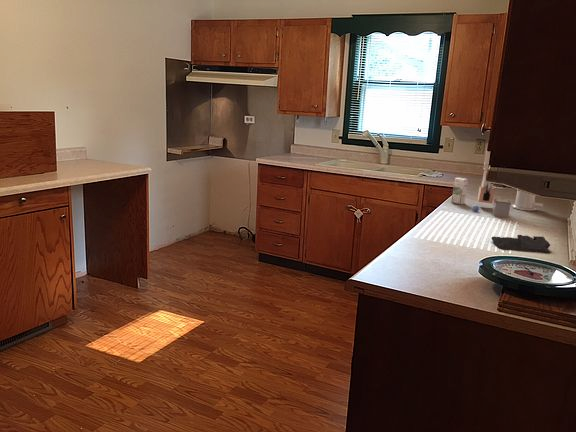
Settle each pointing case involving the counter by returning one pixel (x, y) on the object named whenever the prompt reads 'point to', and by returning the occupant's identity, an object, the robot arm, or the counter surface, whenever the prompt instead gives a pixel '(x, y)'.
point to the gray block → (501, 208)
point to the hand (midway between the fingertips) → (485, 198)
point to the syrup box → (459, 190)
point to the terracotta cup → (481, 194)
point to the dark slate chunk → (523, 244)
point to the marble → (475, 208)
